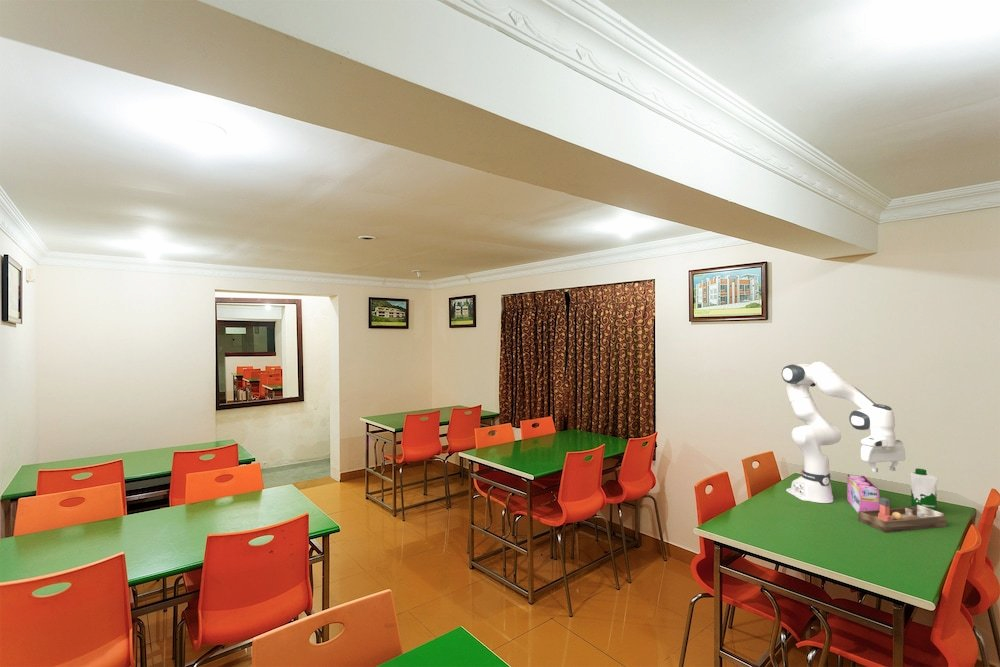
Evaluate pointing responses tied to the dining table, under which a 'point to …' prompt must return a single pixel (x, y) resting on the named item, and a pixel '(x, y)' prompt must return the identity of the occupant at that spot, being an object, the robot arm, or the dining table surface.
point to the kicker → (884, 509)
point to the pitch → (904, 519)
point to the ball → (896, 515)
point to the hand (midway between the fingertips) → (883, 471)
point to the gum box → (862, 493)
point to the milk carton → (923, 489)
